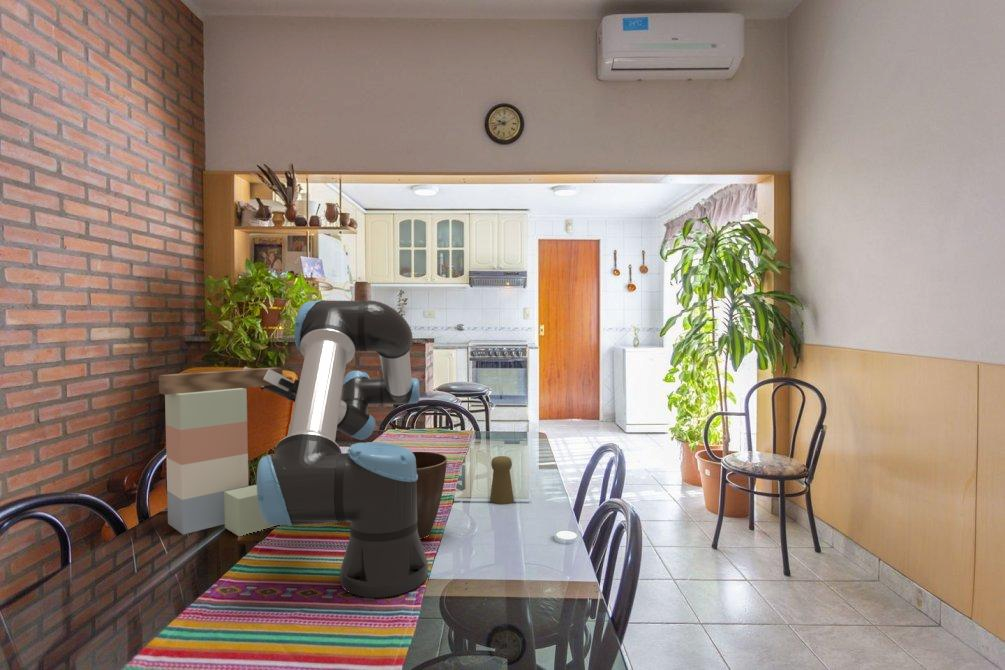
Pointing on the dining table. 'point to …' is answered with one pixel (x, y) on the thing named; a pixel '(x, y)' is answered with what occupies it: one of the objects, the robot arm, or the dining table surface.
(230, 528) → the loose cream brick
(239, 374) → the walnut bar
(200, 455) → the brick tower
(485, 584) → the dining table surface
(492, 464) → the cork
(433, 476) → the plant pot
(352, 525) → the robot arm
